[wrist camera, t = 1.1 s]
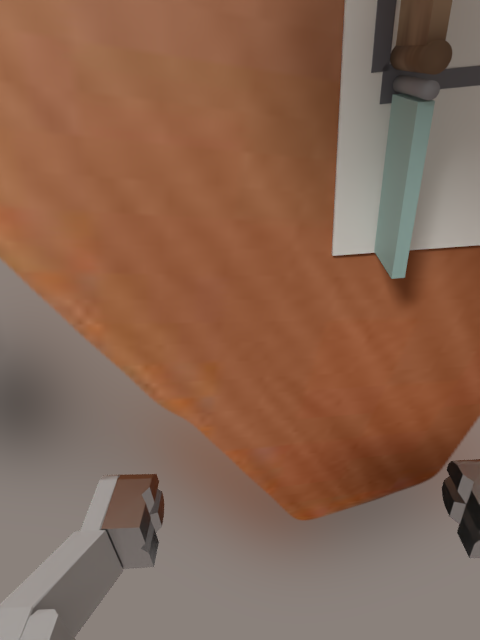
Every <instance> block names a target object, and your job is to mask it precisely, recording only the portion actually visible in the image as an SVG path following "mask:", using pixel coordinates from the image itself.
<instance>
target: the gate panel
mask: <svg viewBox="0 0 480 640" xmlns="http://www.w3.org/2000/svg"><path fill="white" fill-rule="evenodd" d="M393 89H394V90H395V91H396V92H400V93H402V94H393V95H392V103H391V112H390V120H389V129H388V137H387V146H386V154H385V163H384V171H383V180H382V189H381V197H380V206H379V214H378V223H377V231H376V240H375V248H374V252H375V253H376V255H377V256H378V258H379V260H380V261H381V263H382V264H383V266H384V268H385V269H386V271H387V272H388V274H389V276H390V277H391V279H394V278H405V273H406V267H407V262H408V256H409V250H410V244H411V238H412V232H413V227H414V221H415V215H416V209H417V203H418V198H419V192H420V186H421V180H422V174H423V169H424V163H425V157H426V151H427V145H428V139H429V134H430V128H431V122H432V116H433V110H434V105H435V101H434V100H433V99H434V98H436V97H437V95H438V94H439V91H440V85H439V83H438V82H437V81H433V80H427V79H422V78H416V77H410V76H404V75H400V76H398V77H396V78H395V80H394V82H393Z"/></svg>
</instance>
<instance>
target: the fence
mask: <svg viewBox="0 0 480 640" xmlns="http://www.w3.org/2000/svg"><path fill="white" fill-rule="evenodd" d="M451 6H452V0H401V5H400V14H399V23H398V31H397V40H396V46H395V47H394V48H393V50H392V52H391V56H390V63H391V65H392V66H393V68H395V69H397V70H403V71H410V72H417V73H424V74H431V75H435V74H439V73H441V72H442V71H444V70H445V69H446V68H447V66H448V65H449V63H450V61H451V58H452V47H451V45H450V44H449V43H448V42H447V41H446V35H447V29H448V23H449V17H450V12H451Z"/></svg>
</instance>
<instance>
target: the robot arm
mask: <svg viewBox="0 0 480 640" xmlns="http://www.w3.org/2000/svg"><path fill="white" fill-rule="evenodd" d="M447 471H448V473H449V475H450V476H449V477H448V478H446V479H445V480H444V482H443V486H442V495H443V501H444V504H445V507H446V509H447V512H448V514H449V516H450V517H451V518H452V519H454V520H455V521H456V522H457V523H459V528H458V532H457V533H458V535H459V537H460V539H461V542H462V544H463V546H464V548H465V550H466V552H467V554H468V556H469V558H480V459H478V460H460V461H451V462H450V463H449V464H448V467H447ZM158 483H159V480H158V478H157V475H156V474H142V475H138V474H137V475H103V477H102V478H101V479H100V481H99V482H98V485H97V488H96V490H95V493H94V496H93V498H92V501H91V504H90V506H89V509H88V512H87V514H86V517H85V519H84V522H83V525H82V528H81V530H80V531H75V532H74V533H73V534H71V535H70V536H69V538H67V539H66V540H65V541H64V542H63V543H62V544H61V545H60V546H59V547H58V548H57V549H56V550H55V551H54V552H53V553H52V554H51V555H50V556H49V557H48V558H47V559H46V560H45V561H44V562H43V563H42V564H41V565H40V566H39V567H38V568H37V569H36V570H35V571H34V572H33V573H32V574H31V575H30V576H29V577H27V578H26V580H24V581H23V582H22V583H21V584H20V585H19V586H18V587H17V588H16V589H15V590H14V591H13V592H12V593H11V594H10V595H9V596H8V597H7V598H6V599H5V600H4V601H3V602H2V603H1V604H0V640H75V636H76V635H77V634H78V632H79V631H80V629H81V628H82V627H83V625H84V624H85V623H86V621H87V620H88V619H89V617H90V616H91V614H92V613H93V612H94V610H95V609H96V608H97V606H98V605H99V603H100V602H101V601H102V599H103V598H104V597H105V595H106V594H107V592H108V591H109V590H110V588H111V587H112V586H113V584H114V583H115V582H116V580H117V579H118V577H119V576H120V574H121V573H122V572H123V569H127V568H144V567H154V563H155V558H156V554H157V549H158V544H159V541H158V538H157V536H156V532H157V531H158V530H159V529H160V528H161V527H162V523H163V517H164V499H163V494H162V491H160V490H159V489H157V488H158Z"/></svg>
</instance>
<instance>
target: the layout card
mask: <svg viewBox="0 0 480 640" xmlns="http://www.w3.org/2000/svg"><path fill="white" fill-rule="evenodd" d="M400 5H401V0H345V4H344V24H343V44H342V63H341V83H340V103H339V122H338V142H337V161H336V181H335V201H334V220H333V240H332V256H336V255H350V254H364V253H375V252H374V248H375V240H376V231H377V223H378V214H379V206H380V197H381V189H382V180H383V171H384V163H385V154H386V146H387V137H388V129H389V120H390V112H391V103H392V95H393V94H402V93H400V92H396V91H395V90H394V89H393V82H394V80H395V78H396V77H398V76H400V75H404V76H410V77H416V78H422V79H427V80H433V81H437V82H438V83H439V85H440V91H439V94H438V95H437V97H436V98H434V99H433V100H434V101H435V105H434V110H433V116H432V122H431V128H430V134H429V139H428V145H427V151H426V157H425V163H424V169H423V174H422V180H421V186H420V192H419V198H418V203H417V209H416V215H415V221H414V227H413V232H412V238H411V244H410V250H420V249H434V248H448V247H462V246H476V245H480V0H452V6H451V12H450V17H449V23H448V29H447V35H446V41H447V42H448V43H449V44H450V45H451V47H452V58H451V61H450V63H449V65H448V66H447V68H446V69H445V70H444V71H442V72H441V73H439V74H435V75H431V74H424V73H417V72H410V71H403V70H397V69H395V68H393V66H392V65H391V63H390V56H391V52H392V50H393V48H394V47H395V46H396V40H397V31H398V23H399V14H400Z"/></svg>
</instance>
